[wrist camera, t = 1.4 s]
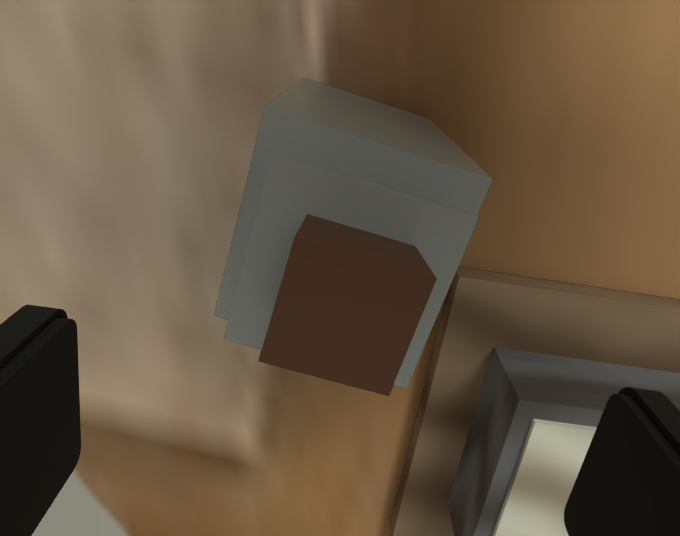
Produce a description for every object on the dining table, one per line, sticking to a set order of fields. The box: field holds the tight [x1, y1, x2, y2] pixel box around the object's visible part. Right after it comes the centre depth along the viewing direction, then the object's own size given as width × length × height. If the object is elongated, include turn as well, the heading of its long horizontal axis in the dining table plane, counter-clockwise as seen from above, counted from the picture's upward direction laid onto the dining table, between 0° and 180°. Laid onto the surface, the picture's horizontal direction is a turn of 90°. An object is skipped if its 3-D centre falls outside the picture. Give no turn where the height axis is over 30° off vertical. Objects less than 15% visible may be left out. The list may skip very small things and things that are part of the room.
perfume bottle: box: [214, 78, 493, 396], centre depth 21 cm, size 7×7×18 cm
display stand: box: [390, 267, 680, 536], centre depth 32 cm, size 20×18×7 cm
